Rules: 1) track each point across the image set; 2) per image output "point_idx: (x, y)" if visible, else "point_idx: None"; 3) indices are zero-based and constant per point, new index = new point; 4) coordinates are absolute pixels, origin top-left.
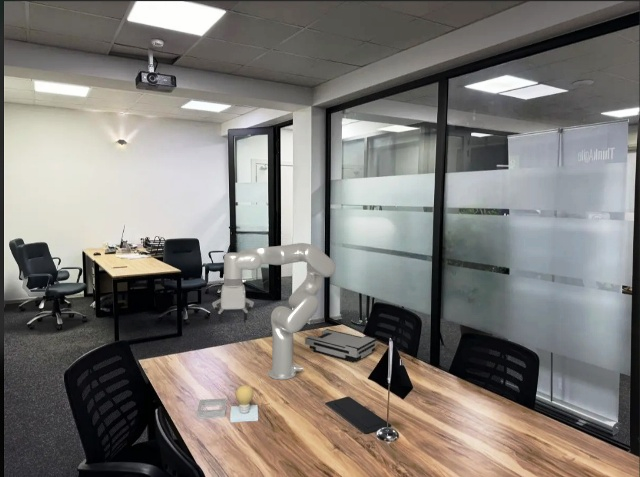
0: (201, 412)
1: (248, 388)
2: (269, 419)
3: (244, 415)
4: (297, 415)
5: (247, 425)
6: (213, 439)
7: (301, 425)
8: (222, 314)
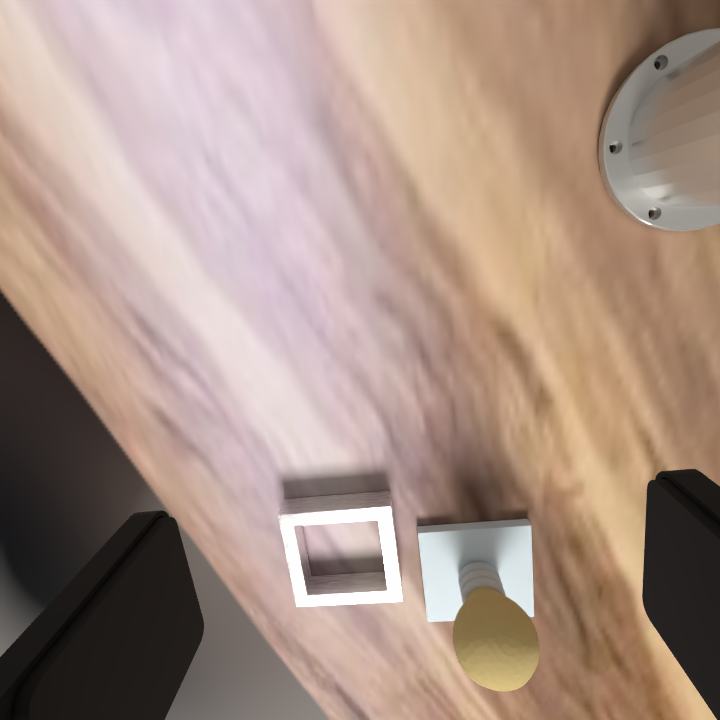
0: (313, 604)
1: (523, 681)
2: (575, 602)
3: None
4: None
5: None
6: (387, 694)
7: None
8: (82, 711)
